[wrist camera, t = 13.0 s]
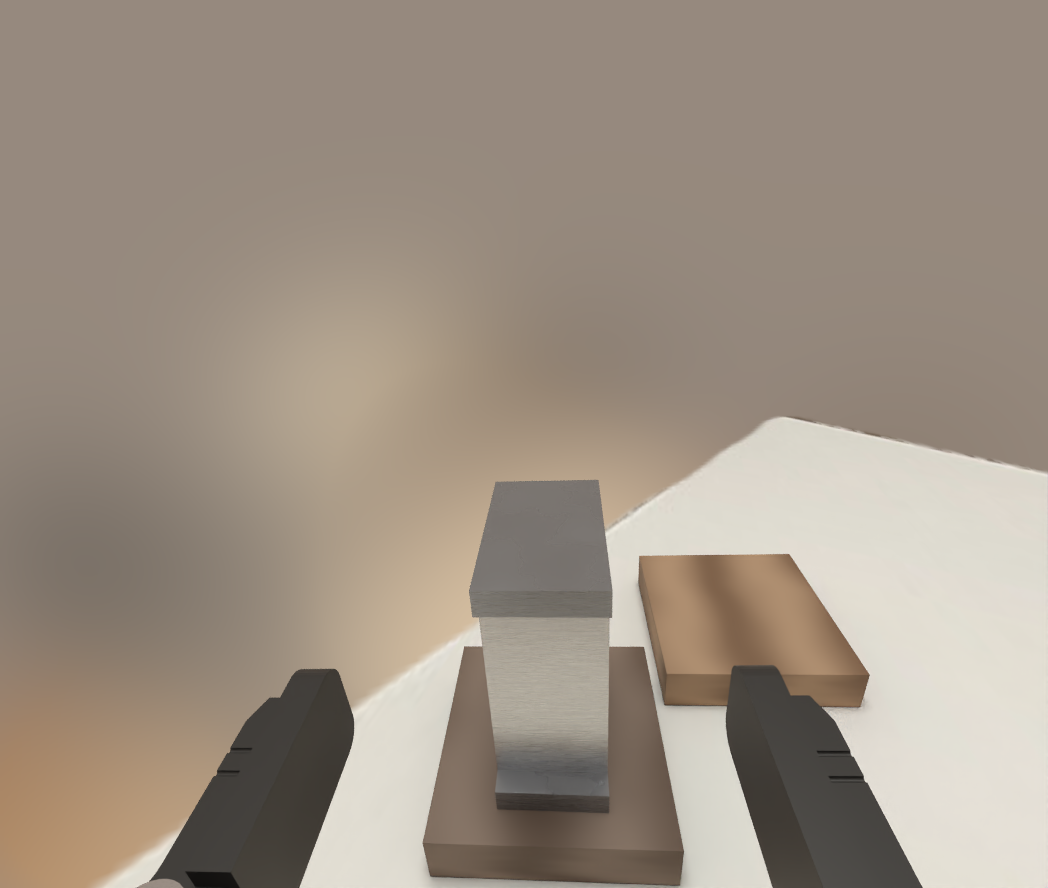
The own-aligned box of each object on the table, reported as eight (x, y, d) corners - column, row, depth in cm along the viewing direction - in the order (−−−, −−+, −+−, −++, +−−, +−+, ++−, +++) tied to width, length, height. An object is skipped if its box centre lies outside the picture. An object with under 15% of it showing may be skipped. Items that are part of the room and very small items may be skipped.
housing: (598, 667, 30) (598, 479, 25) (609, 813, 23) (612, 590, 18) (512, 666, 31) (495, 481, 26) (497, 809, 23) (469, 590, 18)
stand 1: (642, 676, 33) (643, 646, 31) (680, 885, 23) (683, 851, 21) (468, 675, 33) (464, 646, 32) (430, 876, 23) (422, 843, 22)
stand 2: (784, 581, 40) (789, 554, 39) (860, 706, 30) (869, 675, 29) (638, 582, 41) (639, 555, 40) (664, 704, 31) (666, 673, 30)
